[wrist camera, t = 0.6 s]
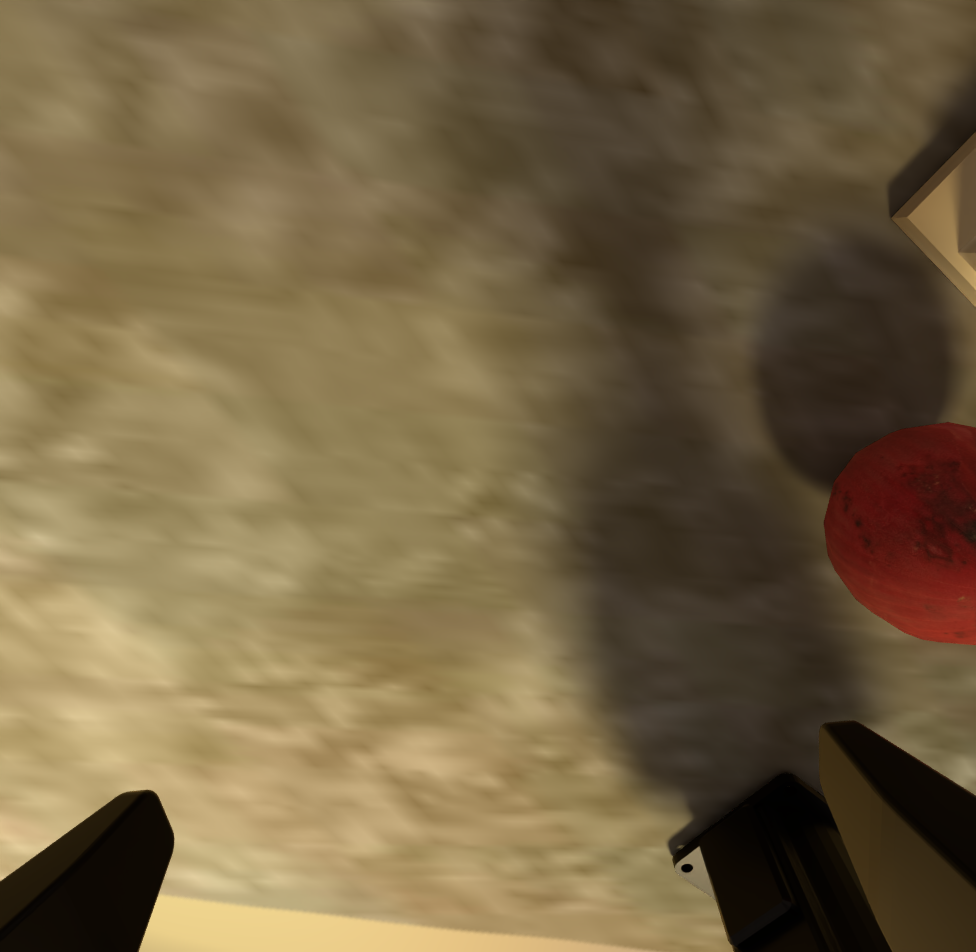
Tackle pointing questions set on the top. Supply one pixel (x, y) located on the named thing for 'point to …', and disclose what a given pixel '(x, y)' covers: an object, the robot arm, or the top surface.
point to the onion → (910, 530)
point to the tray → (947, 219)
